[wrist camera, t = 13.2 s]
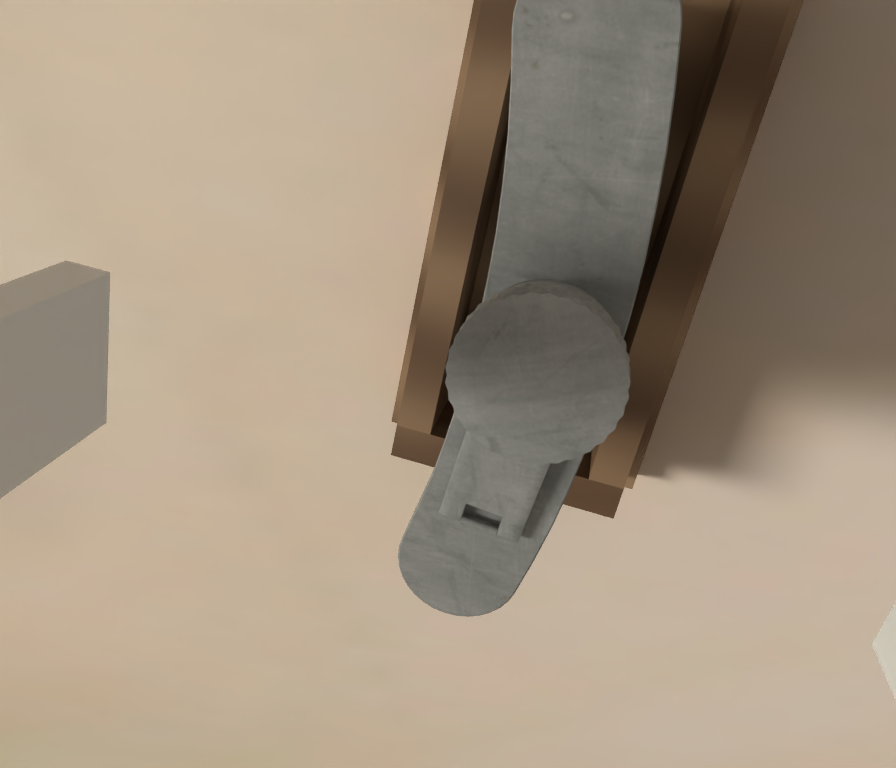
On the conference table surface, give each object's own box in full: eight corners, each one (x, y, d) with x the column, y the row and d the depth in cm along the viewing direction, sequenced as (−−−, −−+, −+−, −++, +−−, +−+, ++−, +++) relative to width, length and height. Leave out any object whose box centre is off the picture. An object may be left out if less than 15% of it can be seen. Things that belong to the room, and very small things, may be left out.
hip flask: (580, -9, 30) (517, -112, 12) (685, 13, 30) (781, -59, 12) (489, 366, 37) (359, 661, 19) (575, 389, 36) (527, 713, 18)
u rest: (508, -138, 31) (485, -178, 26) (822, -76, 29) (863, -104, 24) (399, 409, 40) (367, 458, 35) (631, 474, 39) (632, 534, 34)
